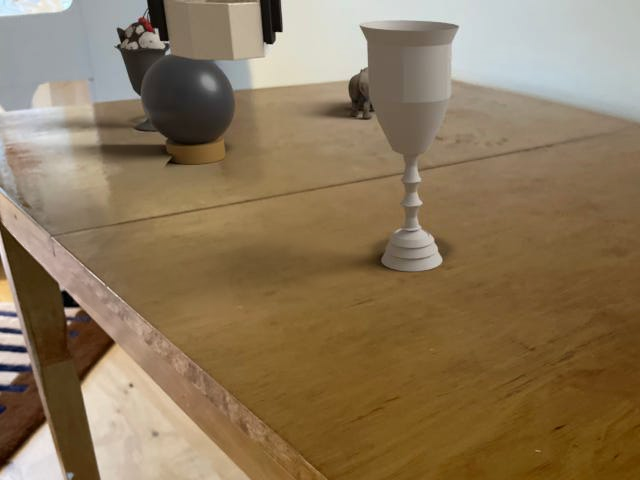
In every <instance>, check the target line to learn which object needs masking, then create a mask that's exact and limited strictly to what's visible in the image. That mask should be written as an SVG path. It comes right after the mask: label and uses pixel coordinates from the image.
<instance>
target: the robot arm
mask: <svg viewBox="0 0 640 480" xmlns="http://www.w3.org/2000/svg"><path fill="white" fill-rule="evenodd" d="M146 4H147V8H148V10H147V13H148V12H149V14H148V18H149V22H150V24H151V27H152V28H154V29H155V30H156V29H157V34H158V35H159V39H160V41H163V42H166V43H168V42H169V37H168V30H167V22H166V15H165V8H164V1H163V0H146ZM260 5H261V17H262V29H263V40H264V43H266V44H268V45H272V46H273V45H274V44H275V42H276V40H277V35H276V34H277V33H283V31H284V26H283V25H284V24H283V11H282V8H283V7H282V0H260Z"/></svg>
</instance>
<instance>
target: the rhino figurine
mask: <svg viewBox="0 0 640 480" xmlns="http://www.w3.org/2000/svg"><path fill="white" fill-rule="evenodd" d="M347 90H348V96H349V98H350V100H351V109H350V111H349V116H351V117H358V116H359V115H360V112H359V110H362V116H361V117H362V119H373V115H372V114H371V113H370V111H374V109H373V106H372V103H371V100H370V97H369V82H368V66H366V67H364V68H360V71H359V73H356V74H355V75H353V76H351V78H350V80H349V82H348V89H347Z"/></svg>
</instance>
